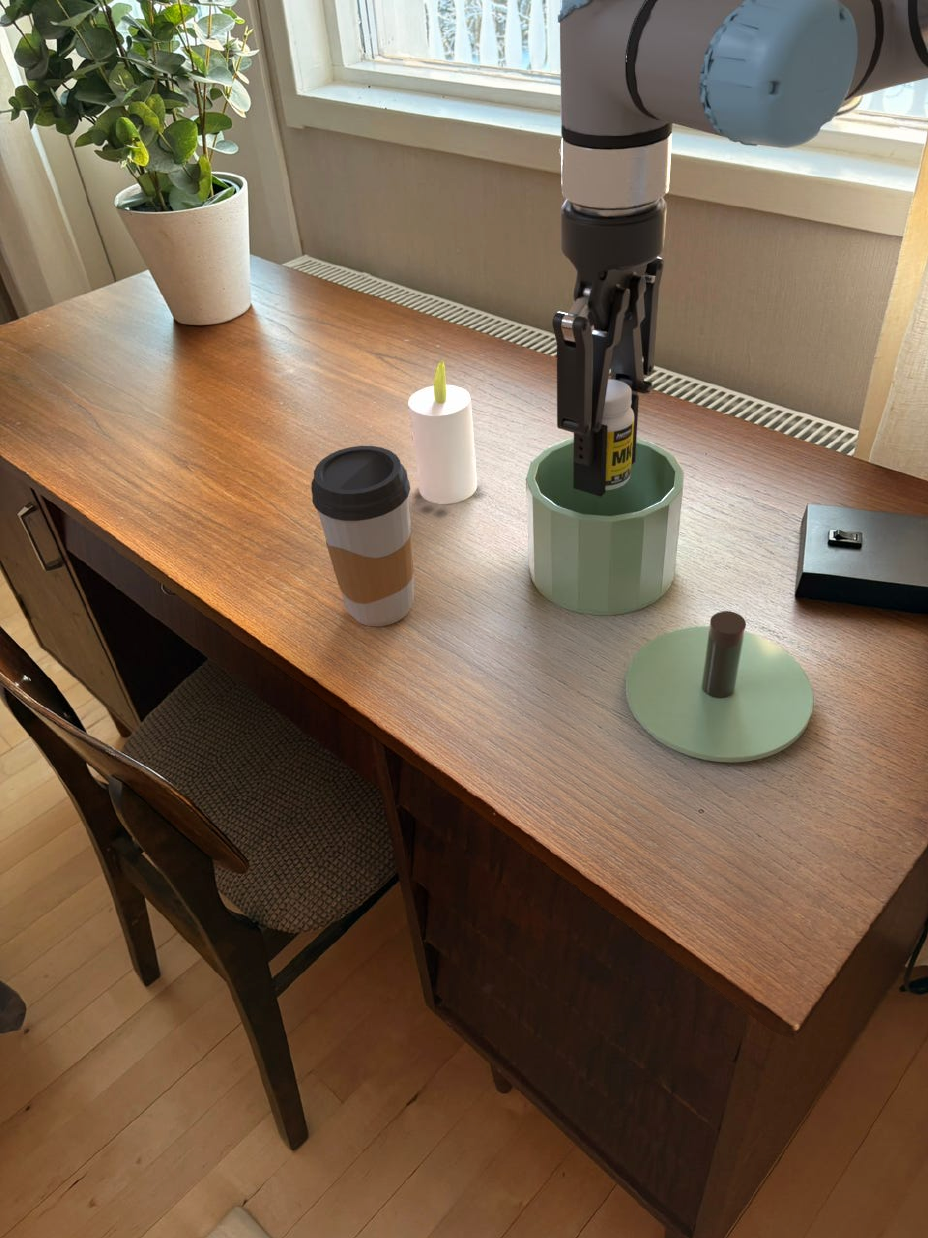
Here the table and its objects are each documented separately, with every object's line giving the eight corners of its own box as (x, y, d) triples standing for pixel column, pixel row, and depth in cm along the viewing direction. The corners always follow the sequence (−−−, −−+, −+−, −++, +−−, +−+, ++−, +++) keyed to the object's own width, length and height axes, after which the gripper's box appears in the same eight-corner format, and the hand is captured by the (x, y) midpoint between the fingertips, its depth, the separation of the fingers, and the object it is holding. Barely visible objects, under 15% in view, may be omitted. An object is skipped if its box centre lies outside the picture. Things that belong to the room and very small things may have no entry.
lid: (837, 674, 77) (857, 599, 72) (769, 797, 69) (787, 722, 63) (673, 615, 84) (680, 541, 79) (592, 719, 76) (595, 645, 70)
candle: (435, 465, 105) (421, 339, 95) (487, 478, 102) (478, 349, 92) (406, 495, 101) (389, 367, 91) (459, 509, 98) (447, 378, 88)
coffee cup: (442, 591, 89) (426, 454, 79) (393, 646, 84) (369, 507, 74) (369, 568, 92) (345, 434, 82) (318, 619, 87) (286, 483, 77)
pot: (698, 551, 90) (709, 457, 83) (632, 634, 83) (638, 538, 76) (575, 511, 97) (575, 421, 90) (502, 584, 89) (497, 492, 82)
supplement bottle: (616, 497, 80) (621, 409, 75) (567, 483, 82) (567, 397, 77) (639, 469, 83) (645, 382, 78) (591, 456, 85) (593, 371, 80)
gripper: (625, 156, 74) (615, 418, 90) (501, 232, 64) (513, 514, 79) (715, 167, 71) (688, 437, 86) (599, 250, 60) (592, 541, 76)
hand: (604, 474), depth 83 cm, fingers closed on supplement bottle, 5 cm apart
